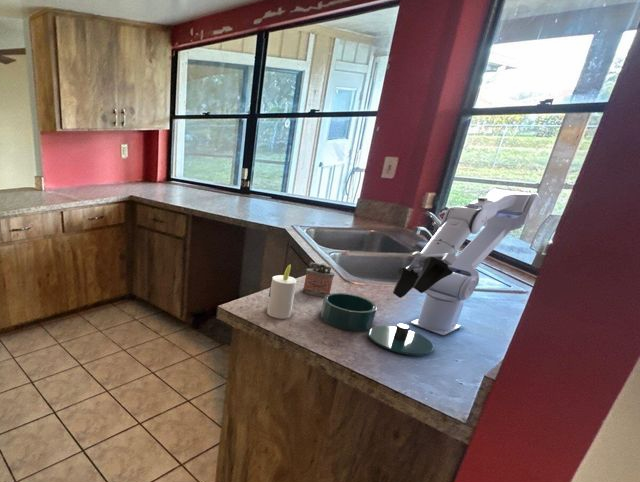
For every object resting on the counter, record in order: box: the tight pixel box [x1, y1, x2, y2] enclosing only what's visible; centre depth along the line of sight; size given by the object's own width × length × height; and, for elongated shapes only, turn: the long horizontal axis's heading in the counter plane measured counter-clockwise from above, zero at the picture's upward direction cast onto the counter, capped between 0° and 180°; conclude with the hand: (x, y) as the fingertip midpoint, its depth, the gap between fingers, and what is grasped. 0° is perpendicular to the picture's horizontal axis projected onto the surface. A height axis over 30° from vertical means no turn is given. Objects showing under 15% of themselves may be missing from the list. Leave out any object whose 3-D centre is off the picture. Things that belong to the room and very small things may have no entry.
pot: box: [320, 292, 378, 332], centre depth 110 cm, size 13×13×5 cm
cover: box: [367, 323, 434, 356], centre depth 99 cm, size 14×14×5 cm
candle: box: [266, 263, 298, 320], centre depth 111 cm, size 6×6×15 cm
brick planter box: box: [302, 261, 336, 298], centre depth 126 cm, size 8×3×10 cm, turn 58°
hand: (407, 292), depth 93 cm, fingers open, 7 cm apart
